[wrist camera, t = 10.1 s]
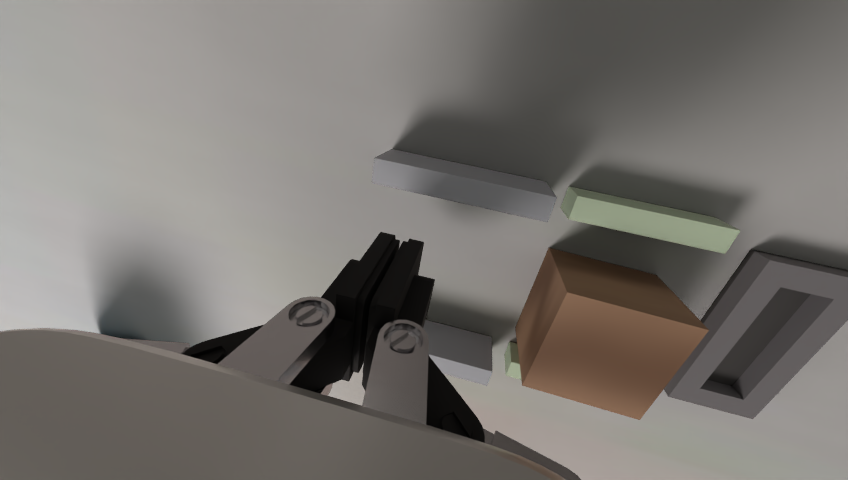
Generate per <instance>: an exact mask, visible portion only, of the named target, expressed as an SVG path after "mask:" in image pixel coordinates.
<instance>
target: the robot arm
mask: <svg viewBox="0 0 848 480" xmlns="http://www.w3.org/2000/svg"><path fill="white" fill-rule="evenodd" d="M399 243H400V241H399V240H396V239H395V235H391V234H387V233H383V232H380V234H379V235H378V236H377V238H376V239H375V241H374V242H373V243H372V245H371V246H370V247H369V249H368V250H367V252H366V253H365V254H364V256H363V257H362V259H361V260H360V261H358V260H353V259H352V260H350V261H349V262H348V263H347V265H346V266H345V267H344V269H343V270H342V271H341V272H340V274H339V275H338V276H337V278H336V279H335V280H334V281H333V283H332V284H331V285H330V287H329V288H328V289H327V290H326V292H325V293H324V294H323V296H322V297H321V298H320V297H304V298H300V299H297V300H295V301H293V302H292V303H290V304H289V305H287V306H286V307H285V308H284V309H283V310H281V311H280V312H279V313H278V314H277V315H275V316H274V317H273V318H272V319H271V320H269V321H268V322H267V323H266V324H265V325H261V326H258V327H254V328H250V329H247V330H243V331H240V332H236V333H232V334H229V335H225V336H222V337H218V338H214V339H211V340H207V341H204V342H201V343H199V344H196V345H194V346H193V347H190V345H189V343H180V342H165V341H150V340H135V339H122V338H117V337H112V336H108V335H103V334H98V333H92V332H85V331H78V330H68V329H51V328H38V329H16V330H7V331H0V480H581V479H580V478H579V477H578V475H576V474H575V473H573V472H572V471H571V470H569V469H568V468H566V467H564V466H562V465H560V464H558V463H557V462H555V461H553V460H551V459H549V458H547V457H545V456H543V455H541V454H540V453H538V452H536V451H534V450H532V449H530V448H528V447H526V446H524V445H522V444H521V443H519V442H517V441H515V440H513V439H511V438H509V437H507V436H505V435H503V434H502V433H500V432H498V431H495V433H494V434H493V433H491V432H489V431H487V430H485V429H483V427H482V425H481V423H480V422H479V420H478V418H477V417H476V415H475V414H474V413H473V412H472V410H471V409H470V408H469V406H468V405H467V404H466V403H465V401H464V400H463V399H462V397H461V396H460V395H459V394H458V392H457V391H456V390H455V388H454V387H453V386H452V385H451V383H450V382H449V381H448V379H447V378H446V377H445V376H444V374H443V373H442V372H441V370H440V369H439V368H438V367H437V365H436V364H435V363H434V361H433V360H432V359H431V358H430V356H429V339H428V335H427V333H426V331H425V330H424V329H423V327H424V324H425V320H426V316H427V312H428V308H429V304H430V300H431V295H432V291H433V286H434V281H435V279H431V278H427V277H423V276H419V275H418V272H419V267H420V261H421V256H422V251H423V245H424V242H421V241H417V240H413V239H409V241H408V242H405V241H403V243H402V244H401V246H400V248H399ZM363 363H364V366H363V380H362V386H363V387H364V389H365V396H364V400H363V405H362V406H361V405H357V404H354V403H350V402H347V401H344V400H340V399H337V398H333V397H330V396H328V394H329V393H330V391H331V389H332V384H333V383H334V382H337V381H339V380H346V381H349V380H350V378H351V376H352V374H353V372H357V373H358V372H359V371H360V369H361V367H362V365H363Z"/></svg>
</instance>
